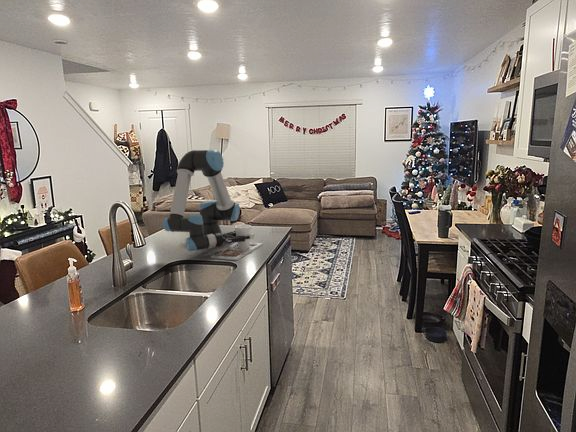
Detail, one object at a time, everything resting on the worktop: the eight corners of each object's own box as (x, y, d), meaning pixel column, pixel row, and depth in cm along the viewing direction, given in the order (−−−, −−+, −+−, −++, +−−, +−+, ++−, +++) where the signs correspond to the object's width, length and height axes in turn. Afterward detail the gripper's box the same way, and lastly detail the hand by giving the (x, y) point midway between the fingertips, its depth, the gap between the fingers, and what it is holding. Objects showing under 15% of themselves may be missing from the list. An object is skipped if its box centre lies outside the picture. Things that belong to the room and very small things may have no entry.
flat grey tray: (238, 243, 237) (238, 241, 236) (262, 245, 231) (262, 243, 231) (211, 257, 209) (210, 255, 208) (237, 260, 203) (236, 258, 202)
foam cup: (233, 249, 224) (231, 227, 221) (240, 245, 232) (239, 224, 230) (247, 250, 220) (246, 228, 218) (254, 246, 229) (253, 225, 226)
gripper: (207, 242, 225) (242, 236, 237) (222, 251, 207) (259, 244, 219) (206, 230, 224) (241, 224, 235) (221, 237, 205) (258, 231, 217)
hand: (250, 234), depth 227 cm, fingers closed on foam cup, 9 cm apart
